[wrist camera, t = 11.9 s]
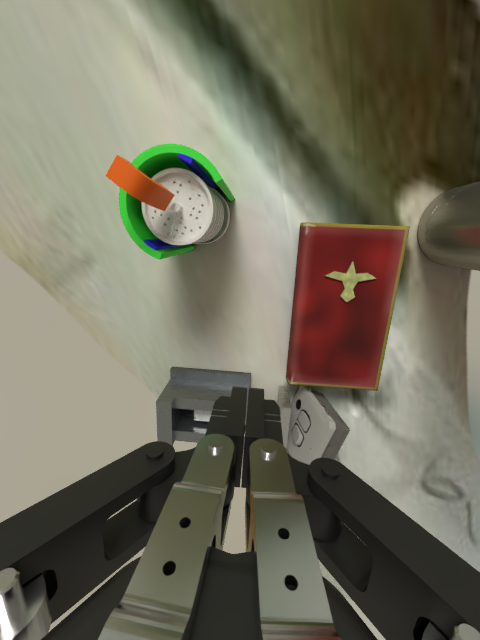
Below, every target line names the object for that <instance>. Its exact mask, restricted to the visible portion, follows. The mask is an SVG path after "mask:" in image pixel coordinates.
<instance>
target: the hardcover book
mask: <svg viewBox="0 0 480 640" xmlns="http://www.w3.org/2000/svg"><path fill="white" fill-rule="evenodd" d="M409 228H410V226H385V225H359V224H333V223H301V224H300V235H299V245H298V256H297V266H296V277H295V287H294V298H293V309H292V319H291V330H290V340H289V351H288V361H287V372H286V378H287V381H288V383H289V384H291V385H305V386H319V387H333V388H347V389H361V390H376V391H377V390H378V385H379V380H380V375H381V370H382V364H383V359H384V354H385V349H386V344H387V339H388V334H389V329H390V324H391V319H392V314H393V309H394V304H395V299H396V294H397V289H398V283H399V278H400V273H401V268H402V263H403V258H404V253H405V248H406V243H407V238H408V233H409Z"/></svg>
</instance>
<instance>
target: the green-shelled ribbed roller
mask: <svg viewBox="0 0 480 640" xmlns="http://www.w3.org/2000/svg"><path fill="white" fill-rule="evenodd" d="M106 176H107V177H108V178H109V179H110V180H112V181H113V182H114V183H115V184H117V185H118V186H119V187H120V192H119V207H120V213H121V217H122V220H123V223H124V226H125V228H126V230H127V232H128V233H129V235H130V237H131V238H132V239H133V241H134V242H135V243H136V244H137V245H138V246H139V247H140V248H141V249H142V250H143V251H145V252H146V253H148V254H149V255H151V256H153V257H155V258H157V259H163V258H167V257H171V256H175V255H178V254H182V253H186V252H190V251H193V250H194V248H195V246H193V245H191V244H194V243H195V244H209V243H213V242H215V241H217V240H219V239H220V238H221V237H222V236H223V235H224V234H225V232H226V231H227V229H228V226H229V223H230V210H229V207H228V204H227V202H226V200H225V199H224V198H223V196H222V195H221V194H220V193H219V192H218V191H216V187H219V188H220V189H221V190H222V191H223V192H224V194H225V195H226V196H227V197H228V199H229V200H230V201H233V200H234V199H235V198H234V196H233V195H232V193H231V191H230V190H229V188H228V187H227V185H226V183H225V182H224V180H223V179H222V177H221V175H220V174H219V172H218V171H217V169H216V168H215V167H214V165H213V164H212V163H211V162H210V161H209V160H208V159H207V158H206V157H205V156H203V155H202V154H201V153H199V152H197V151H196V150H194V149H192V148H189V147H186V146H183V145H178V144H163V145H158V146H155V147H152V148H150V149H148V150H146V151H144V152H143V153H141V154H140V155H139V156H137V157H136V158H135V159H134V160H133V162H132V163H130V162H129V161H127V160H125V159H124V158H122V157H120V156H118V155H117V156H116V158H115V160H114V161H113V163H112V165H111V167H110V169H109V171H108V173H107V174H106ZM209 186H210V187H209Z"/></svg>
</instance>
